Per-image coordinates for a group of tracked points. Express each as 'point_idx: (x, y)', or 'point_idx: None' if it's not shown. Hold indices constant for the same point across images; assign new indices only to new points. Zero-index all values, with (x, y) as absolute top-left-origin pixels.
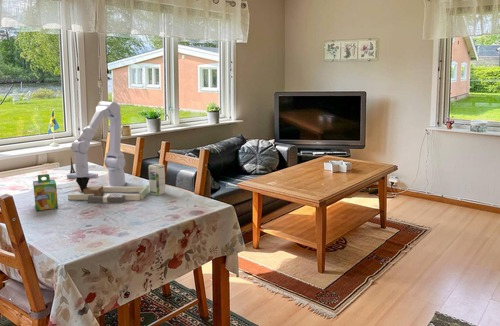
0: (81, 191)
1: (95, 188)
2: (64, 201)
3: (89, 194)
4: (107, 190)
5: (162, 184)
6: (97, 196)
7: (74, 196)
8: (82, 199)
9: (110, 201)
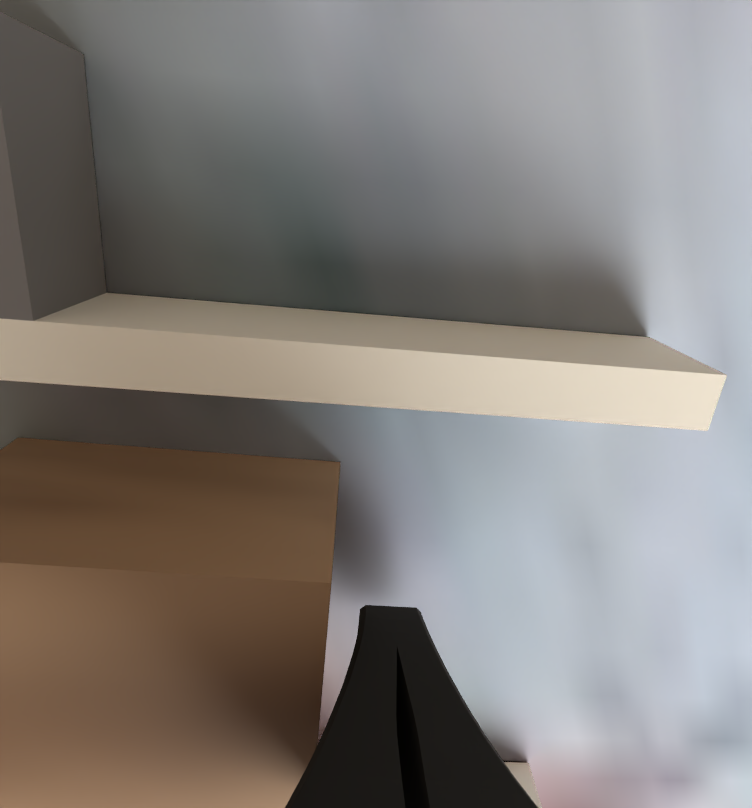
0: None
1: (14, 669)
2: (717, 194)
3: (85, 339)
4: None
5: None
6: (21, 452)
7: (523, 342)
8: (321, 311)
9: None
